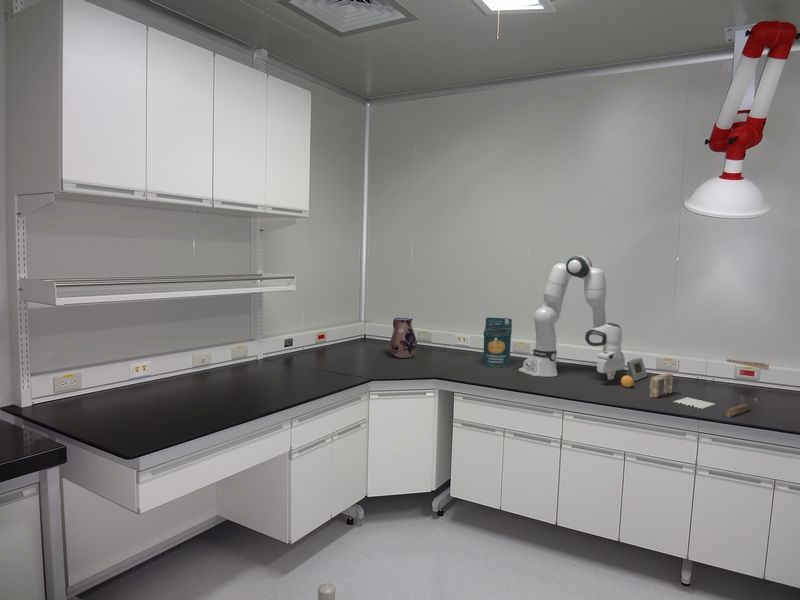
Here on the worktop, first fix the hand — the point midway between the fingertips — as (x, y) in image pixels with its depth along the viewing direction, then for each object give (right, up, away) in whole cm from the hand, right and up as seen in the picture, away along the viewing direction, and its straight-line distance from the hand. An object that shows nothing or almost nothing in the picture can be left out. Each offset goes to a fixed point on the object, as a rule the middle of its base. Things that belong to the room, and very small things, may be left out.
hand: (610, 379), depth 281 cm
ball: (+6, 0, -8) cm, 10 cm away
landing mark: (+25, -6, -35) cm, 44 cm away
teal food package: (-53, +2, +41) cm, 68 cm away
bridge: (+16, -5, -22) cm, 28 cm away
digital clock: (+19, -2, +11) cm, 22 cm away
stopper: (+35, -7, -50) cm, 62 cm away
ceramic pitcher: (-111, +5, +63) cm, 128 cm away
